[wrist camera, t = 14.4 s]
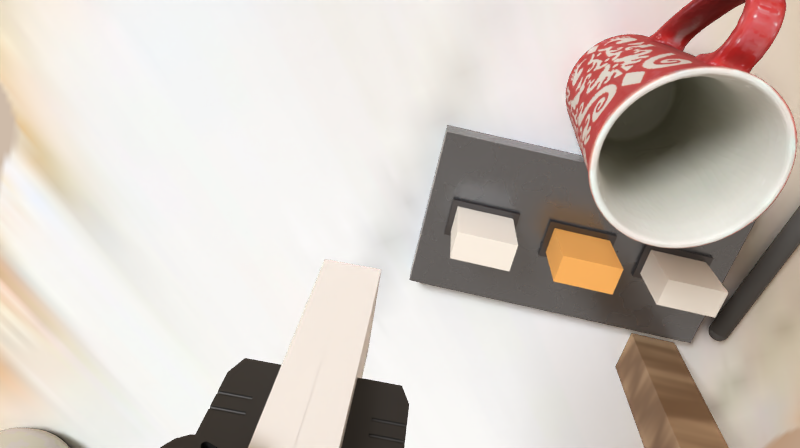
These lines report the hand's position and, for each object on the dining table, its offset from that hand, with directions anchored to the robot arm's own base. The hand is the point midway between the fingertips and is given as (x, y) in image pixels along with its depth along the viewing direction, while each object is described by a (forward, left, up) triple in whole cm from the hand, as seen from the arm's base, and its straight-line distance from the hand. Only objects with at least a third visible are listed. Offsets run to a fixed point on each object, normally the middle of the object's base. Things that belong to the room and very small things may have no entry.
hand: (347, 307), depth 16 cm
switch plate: (+9, +14, -27) cm, 32 cm away
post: (+18, +23, -27) cm, 40 cm away
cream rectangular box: (+9, +21, -26) cm, 34 cm away
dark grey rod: (+7, +28, -27) cm, 40 cm away
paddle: (+9, +7, -26) cm, 28 cm away
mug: (-4, +14, -28) cm, 31 cm away
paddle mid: (+9, +14, -26) cm, 31 cm away
